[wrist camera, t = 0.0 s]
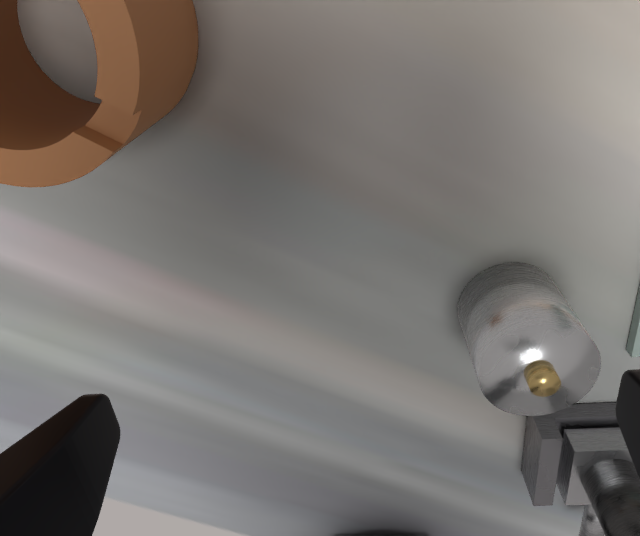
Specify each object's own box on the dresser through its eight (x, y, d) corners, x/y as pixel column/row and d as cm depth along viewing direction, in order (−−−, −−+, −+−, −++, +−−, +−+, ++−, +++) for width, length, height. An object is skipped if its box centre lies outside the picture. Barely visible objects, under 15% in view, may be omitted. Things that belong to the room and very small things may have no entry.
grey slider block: (619, 524, 31) (671, 629, 26) (549, 526, 32) (586, 629, 27) (644, 426, 28) (709, 525, 23) (564, 429, 28) (610, 527, 23)
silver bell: (552, 342, 27) (599, 427, 22) (456, 347, 28) (480, 432, 22) (563, 259, 25) (618, 331, 20) (458, 265, 25) (485, 338, 20)
